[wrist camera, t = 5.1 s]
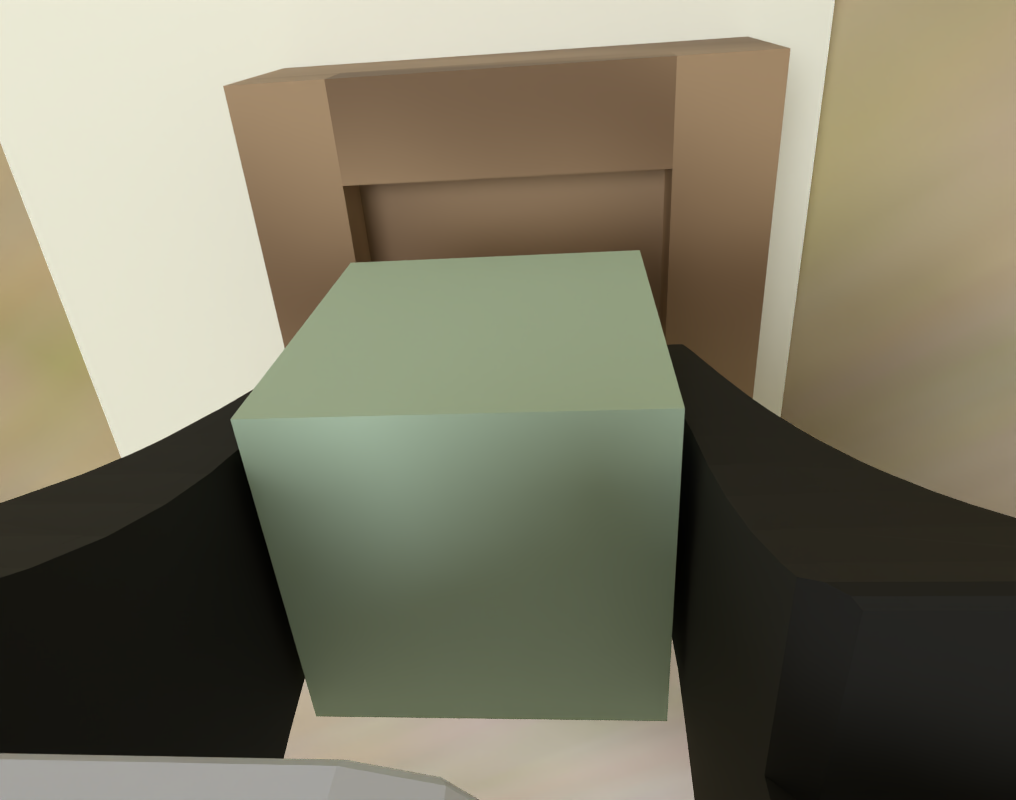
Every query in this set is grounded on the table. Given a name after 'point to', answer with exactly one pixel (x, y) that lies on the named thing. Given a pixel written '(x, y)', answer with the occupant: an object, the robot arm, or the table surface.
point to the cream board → (220, 179)
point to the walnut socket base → (529, 172)
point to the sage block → (475, 489)
